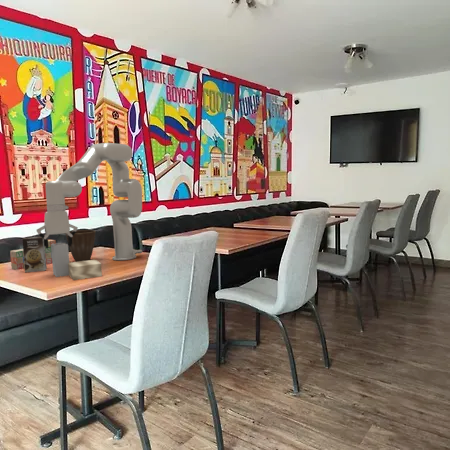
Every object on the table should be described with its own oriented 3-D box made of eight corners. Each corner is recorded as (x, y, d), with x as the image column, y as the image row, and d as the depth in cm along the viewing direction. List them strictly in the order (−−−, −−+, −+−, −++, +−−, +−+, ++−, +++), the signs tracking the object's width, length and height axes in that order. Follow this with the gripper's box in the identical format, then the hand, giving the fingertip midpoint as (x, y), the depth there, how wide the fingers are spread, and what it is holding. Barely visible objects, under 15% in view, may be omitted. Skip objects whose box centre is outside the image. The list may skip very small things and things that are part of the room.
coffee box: (24, 272, 198) (21, 239, 196) (27, 270, 204) (24, 237, 202) (45, 270, 200) (42, 237, 198) (47, 268, 206) (44, 236, 205)
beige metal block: (96, 272, 193) (95, 259, 192) (102, 276, 183) (101, 263, 182) (69, 276, 187) (68, 262, 187) (73, 281, 177) (72, 267, 176)
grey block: (67, 272, 194) (64, 242, 192) (70, 275, 188) (67, 244, 186) (53, 274, 191) (50, 244, 189) (56, 277, 185) (53, 245, 183)
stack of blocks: (17, 270, 205) (15, 245, 204) (11, 269, 209) (9, 244, 208) (57, 262, 222) (55, 239, 221) (51, 261, 226) (49, 239, 224)
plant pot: (101, 258, 228) (99, 229, 226) (90, 263, 213) (88, 232, 211) (75, 259, 229) (73, 230, 228) (62, 264, 215) (60, 233, 213)
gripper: (74, 207, 194) (76, 244, 195) (33, 209, 185) (36, 247, 186) (78, 208, 187) (80, 245, 189) (36, 210, 178) (39, 249, 180)
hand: (58, 246), depth 187 cm, fingers open, 9 cm apart
